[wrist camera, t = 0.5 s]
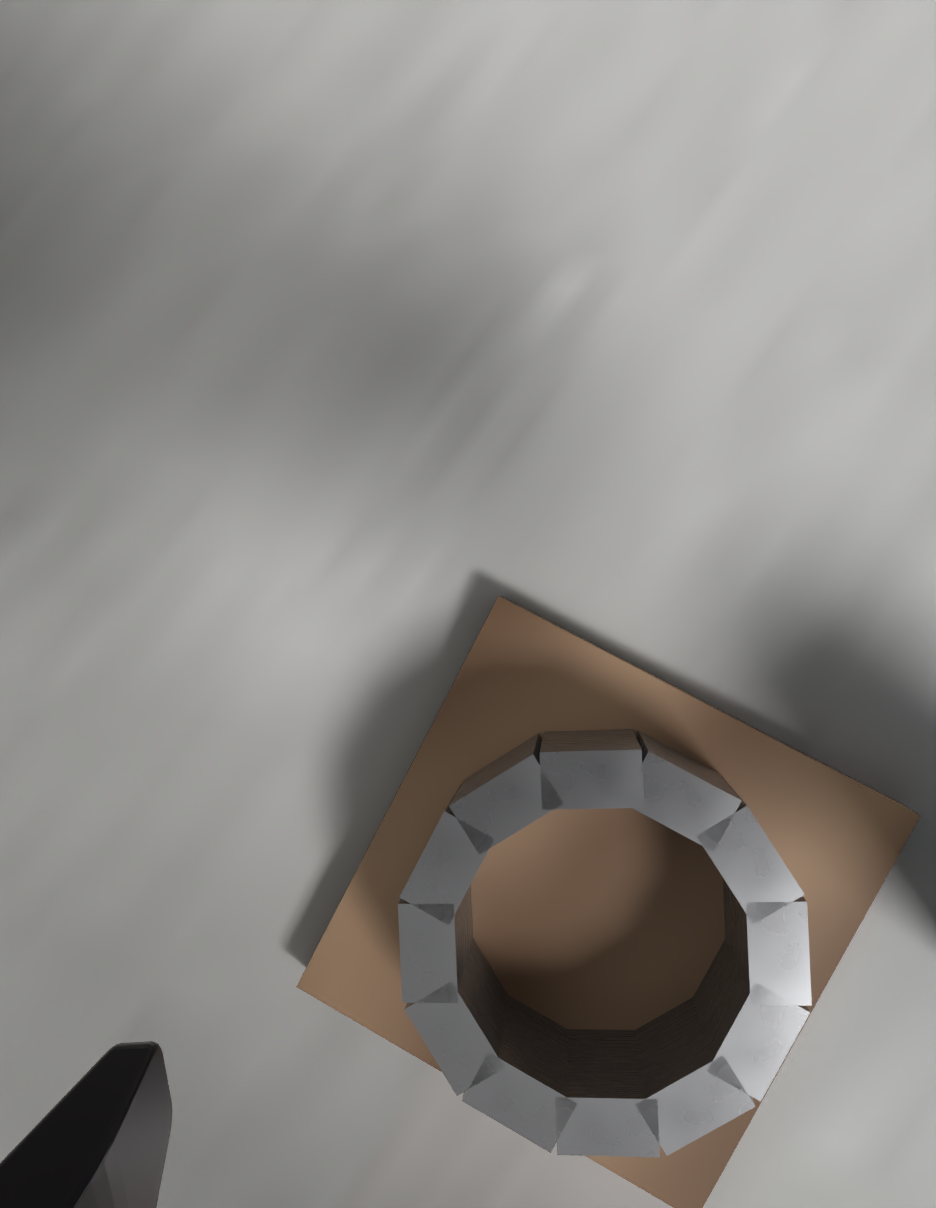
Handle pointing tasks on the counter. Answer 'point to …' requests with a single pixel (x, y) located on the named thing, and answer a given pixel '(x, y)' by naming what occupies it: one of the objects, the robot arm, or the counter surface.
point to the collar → (593, 1056)
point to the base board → (602, 863)
